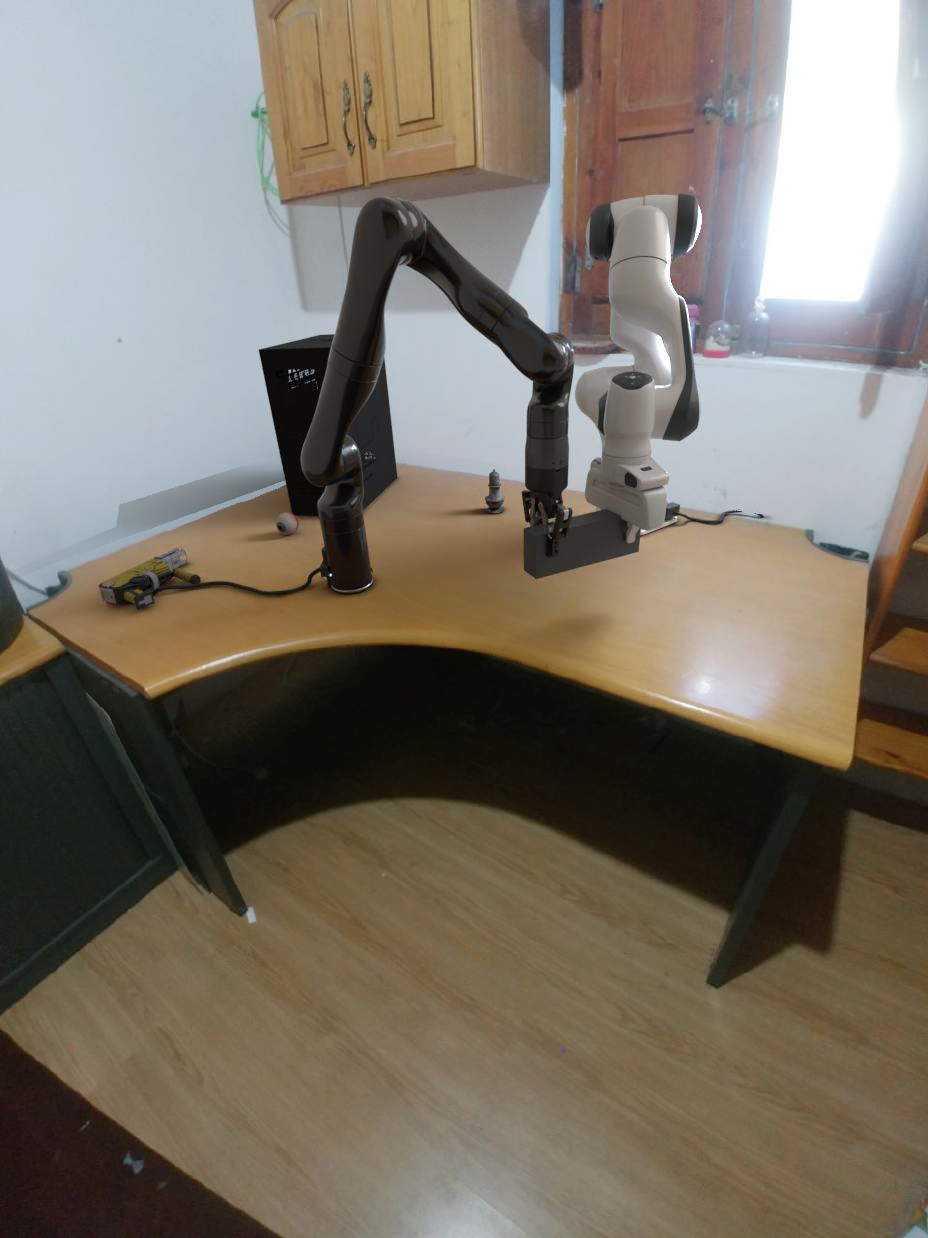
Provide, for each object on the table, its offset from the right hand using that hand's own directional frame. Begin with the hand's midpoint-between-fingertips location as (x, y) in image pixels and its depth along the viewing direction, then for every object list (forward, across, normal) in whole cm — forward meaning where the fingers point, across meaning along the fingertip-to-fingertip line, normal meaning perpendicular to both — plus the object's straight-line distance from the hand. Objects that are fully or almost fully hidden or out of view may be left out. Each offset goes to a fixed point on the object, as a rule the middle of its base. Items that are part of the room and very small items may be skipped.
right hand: (619, 536), depth 119 cm
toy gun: (+13, -55, -86) cm, 102 cm away
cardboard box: (+13, -97, -31) cm, 102 cm away
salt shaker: (+13, -59, +2) cm, 60 cm away
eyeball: (+13, -73, -54) cm, 91 cm away
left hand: (-1, 0, -17) cm, 17 cm away
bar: (+3, 0, -8) cm, 9 cm away
